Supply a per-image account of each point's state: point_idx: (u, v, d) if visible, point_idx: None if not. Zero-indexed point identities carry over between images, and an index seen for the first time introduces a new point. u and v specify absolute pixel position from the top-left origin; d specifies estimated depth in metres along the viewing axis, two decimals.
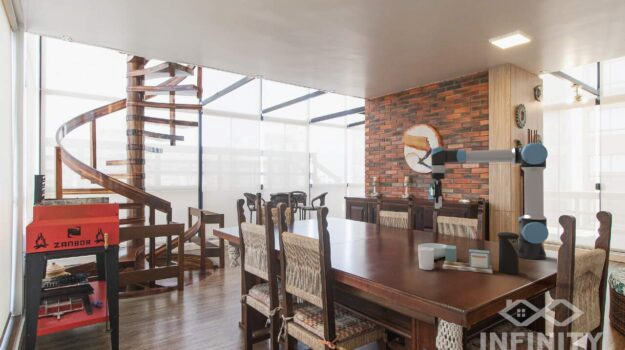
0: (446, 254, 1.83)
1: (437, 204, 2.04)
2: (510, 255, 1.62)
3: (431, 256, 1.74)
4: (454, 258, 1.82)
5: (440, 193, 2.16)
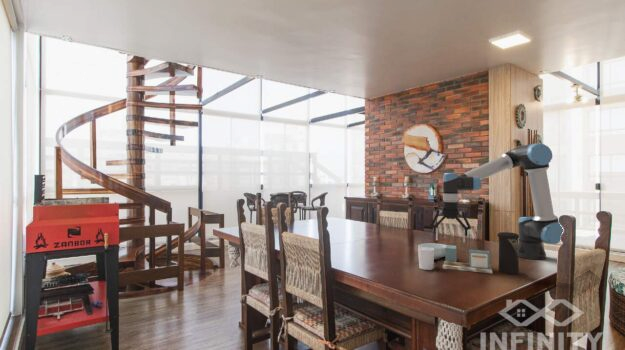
0: (446, 254, 1.83)
1: (436, 235, 1.89)
2: (510, 255, 1.62)
3: (431, 256, 1.74)
4: (454, 258, 1.82)
5: (462, 226, 1.83)
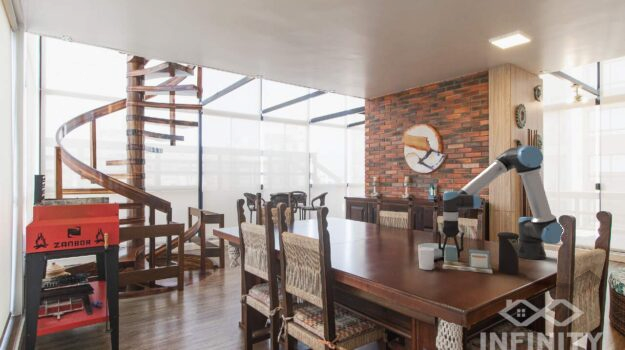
0: (446, 254, 1.83)
1: (444, 258, 1.88)
2: (510, 255, 1.62)
3: (431, 256, 1.74)
4: (454, 258, 1.82)
5: (456, 247, 1.85)
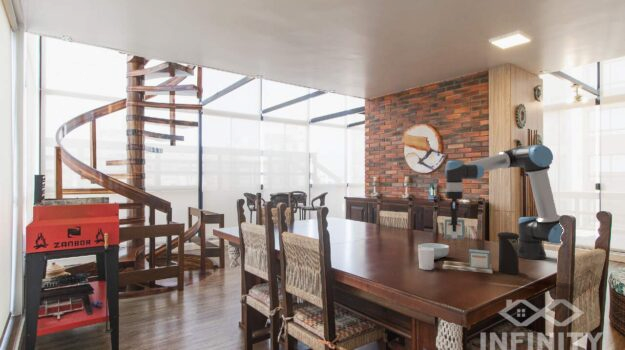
0: None
1: (454, 233, 1.73)
2: (510, 255, 1.62)
3: (431, 256, 1.74)
4: None
5: None
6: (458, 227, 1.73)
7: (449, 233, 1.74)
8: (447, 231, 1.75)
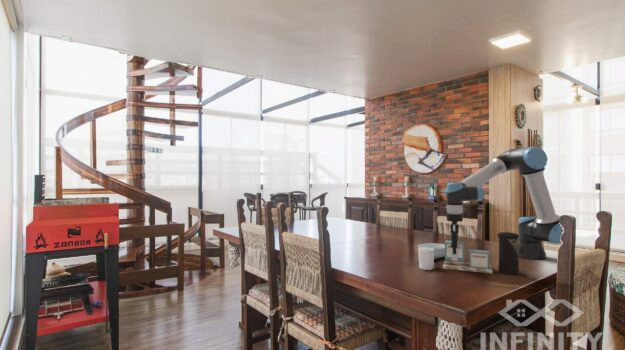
0: (464, 249, 1.72)
1: (455, 255, 1.72)
2: (510, 255, 1.62)
3: (431, 256, 1.74)
4: (464, 251, 1.75)
5: (456, 240, 1.78)
6: (458, 250, 1.72)
7: (449, 255, 1.74)
8: (447, 253, 1.75)
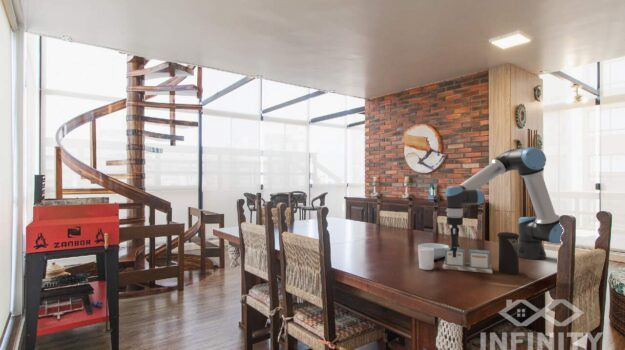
0: (464, 257, 1.72)
1: (455, 258, 1.71)
2: (510, 255, 1.62)
3: (431, 256, 1.74)
4: None
5: (456, 242, 1.79)
6: (459, 257, 1.72)
7: (449, 263, 1.74)
8: (447, 261, 1.75)
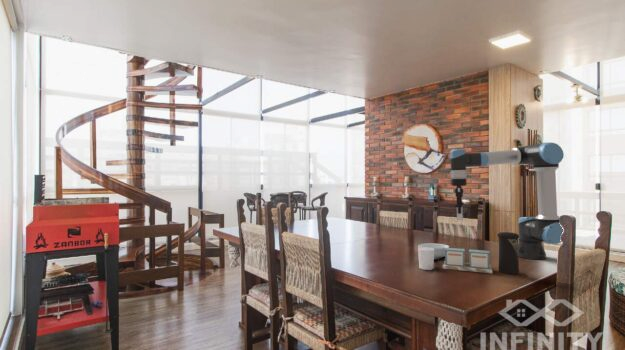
0: (464, 257, 1.72)
1: (460, 215, 1.78)
2: (510, 255, 1.62)
3: (431, 256, 1.74)
4: None
5: None
6: (459, 257, 1.72)
7: (449, 263, 1.74)
8: (447, 261, 1.75)
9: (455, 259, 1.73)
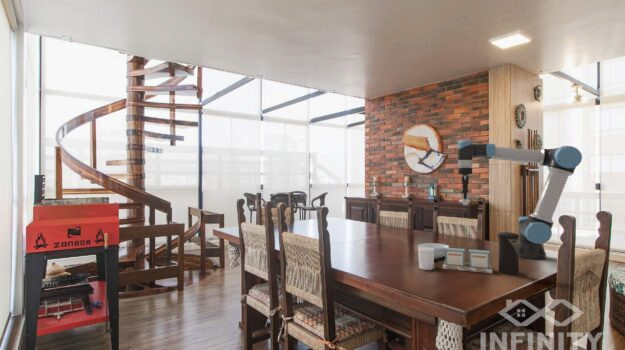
0: (464, 257, 1.72)
1: (465, 200, 1.95)
2: (510, 255, 1.62)
3: (431, 256, 1.74)
4: None
5: None
6: (459, 257, 1.72)
7: (449, 263, 1.74)
8: (447, 261, 1.75)
9: (455, 259, 1.73)
